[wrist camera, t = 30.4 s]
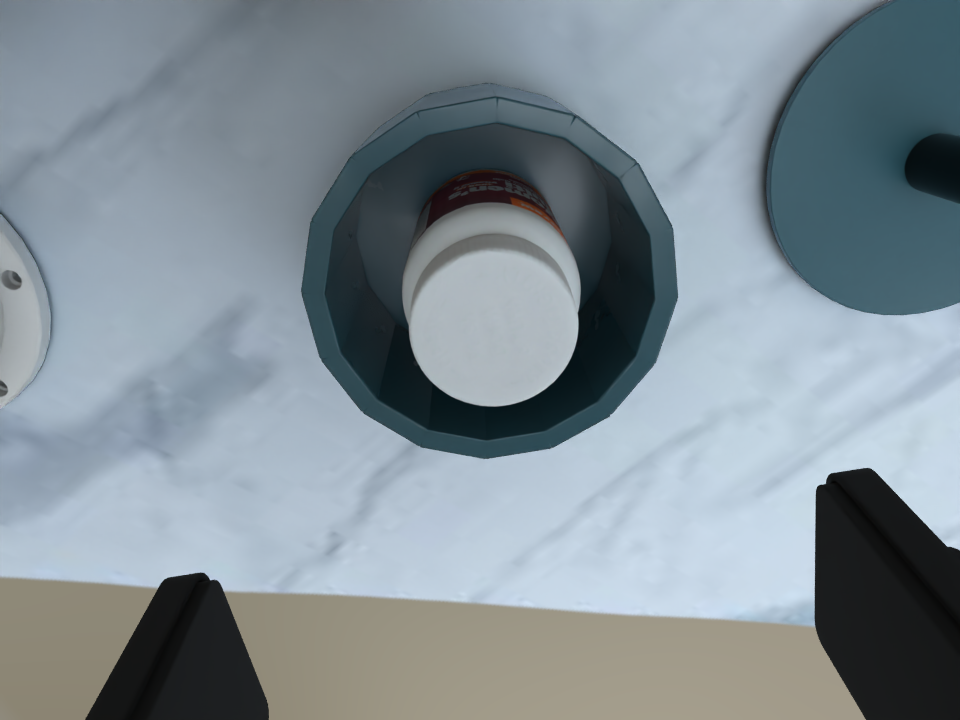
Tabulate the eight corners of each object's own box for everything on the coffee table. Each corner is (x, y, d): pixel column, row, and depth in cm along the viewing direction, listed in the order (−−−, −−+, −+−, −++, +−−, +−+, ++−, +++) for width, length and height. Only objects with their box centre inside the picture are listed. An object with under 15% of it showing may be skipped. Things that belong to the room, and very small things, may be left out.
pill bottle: (567, 177, 31) (619, 245, 21) (541, 312, 34) (576, 433, 23) (423, 156, 31) (403, 214, 21) (407, 294, 33) (382, 409, 23)
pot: (377, 384, 36) (354, 481, 28) (309, 115, 31) (257, 140, 23) (637, 341, 35) (687, 426, 27) (610, 58, 30) (661, 65, 22)
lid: (763, 329, 35) (810, 374, 30) (757, 18, 30) (811, 14, 25) (1057, 280, 34) (1151, 318, 30) (1104, -48, 29) (1228, -65, 24)
